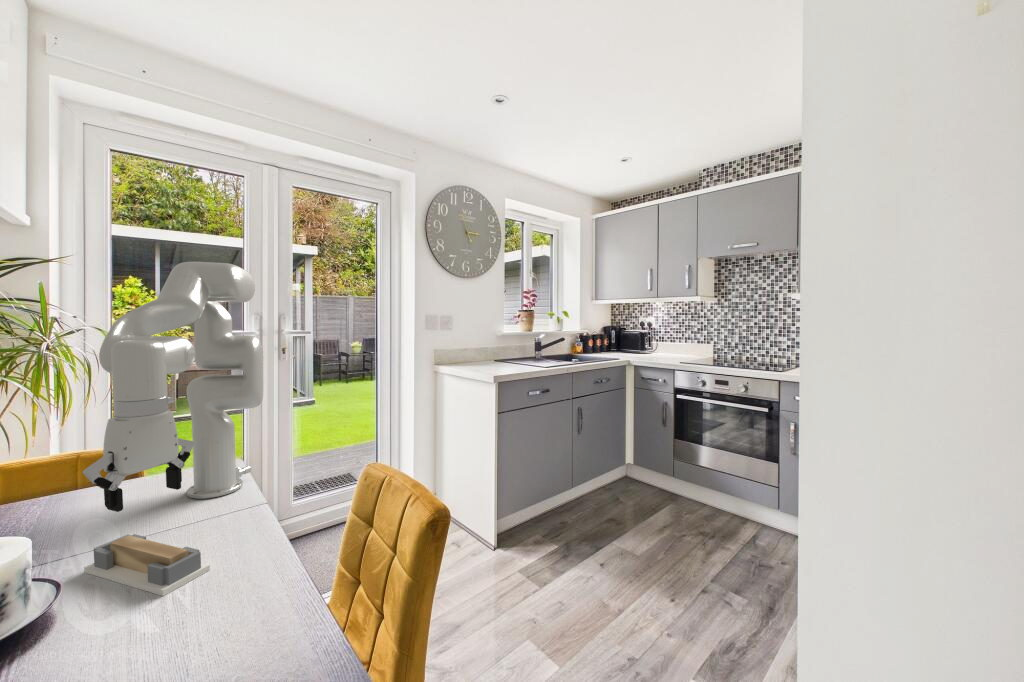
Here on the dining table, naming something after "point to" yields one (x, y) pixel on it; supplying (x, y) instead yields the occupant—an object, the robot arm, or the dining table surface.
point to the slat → (143, 553)
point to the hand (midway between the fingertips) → (146, 498)
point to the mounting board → (158, 575)
